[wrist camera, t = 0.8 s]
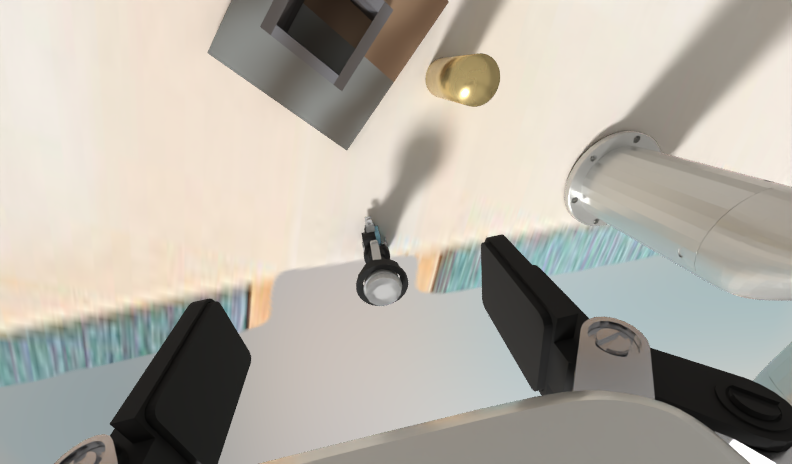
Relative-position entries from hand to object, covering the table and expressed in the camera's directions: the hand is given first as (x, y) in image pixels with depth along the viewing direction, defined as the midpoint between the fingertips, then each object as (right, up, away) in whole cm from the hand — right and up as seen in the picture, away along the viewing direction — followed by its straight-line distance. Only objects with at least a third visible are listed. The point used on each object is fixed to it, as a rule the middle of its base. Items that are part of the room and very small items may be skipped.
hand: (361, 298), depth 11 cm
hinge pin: (+6, +18, +20) cm, 28 cm away
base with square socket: (-5, +21, +16) cm, 27 cm away
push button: (-2, +2, +28) cm, 28 cm away
